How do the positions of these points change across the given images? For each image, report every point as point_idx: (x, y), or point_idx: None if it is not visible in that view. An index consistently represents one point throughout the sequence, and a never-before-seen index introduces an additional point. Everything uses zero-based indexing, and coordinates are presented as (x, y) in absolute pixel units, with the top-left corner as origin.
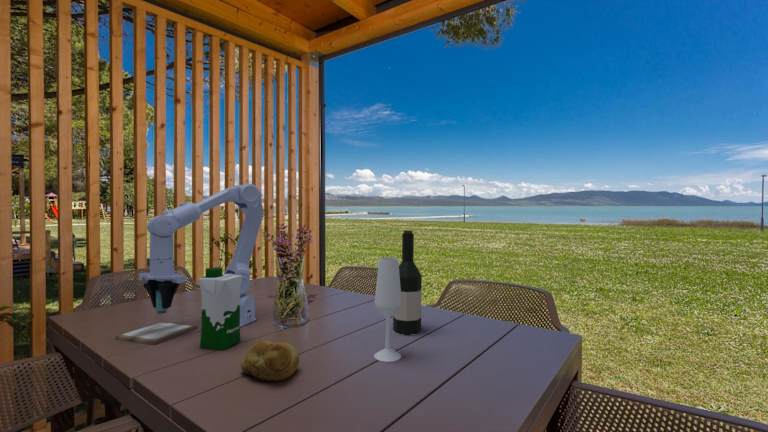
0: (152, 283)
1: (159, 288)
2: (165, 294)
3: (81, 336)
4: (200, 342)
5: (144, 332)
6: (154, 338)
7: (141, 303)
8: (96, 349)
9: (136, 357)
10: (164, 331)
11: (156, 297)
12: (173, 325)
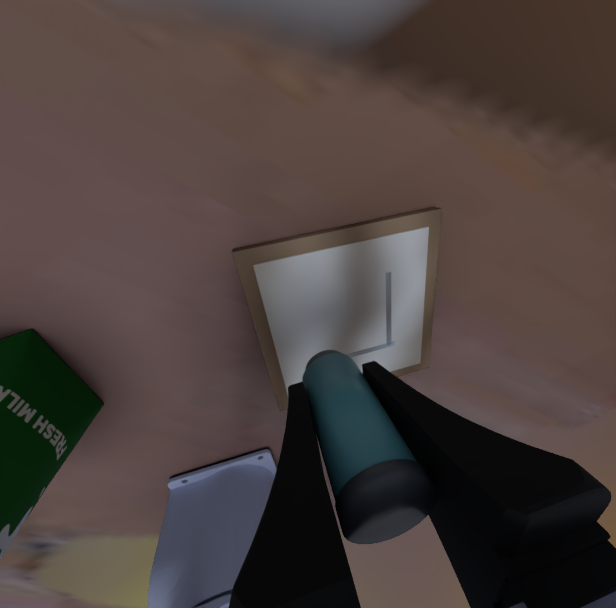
0: (513, 550)
1: (326, 535)
2: (273, 487)
3: (570, 155)
4: (5, 341)
5: (372, 285)
6: (267, 271)
7: (606, 398)
8: (392, 87)
9: (121, 114)
10: (316, 329)
11: (369, 420)
12: None
